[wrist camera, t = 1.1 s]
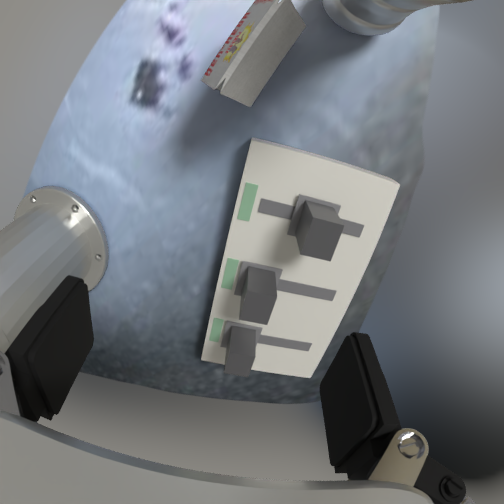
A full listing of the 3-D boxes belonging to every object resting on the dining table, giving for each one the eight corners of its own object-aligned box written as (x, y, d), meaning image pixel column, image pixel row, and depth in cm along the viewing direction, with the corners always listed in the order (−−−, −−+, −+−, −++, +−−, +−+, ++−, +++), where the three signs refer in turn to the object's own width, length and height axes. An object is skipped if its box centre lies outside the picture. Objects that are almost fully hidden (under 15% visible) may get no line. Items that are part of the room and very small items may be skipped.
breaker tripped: (326, 243, 27) (336, 266, 24) (286, 233, 27) (291, 256, 23) (340, 205, 26) (353, 223, 22) (299, 193, 25) (306, 211, 22)
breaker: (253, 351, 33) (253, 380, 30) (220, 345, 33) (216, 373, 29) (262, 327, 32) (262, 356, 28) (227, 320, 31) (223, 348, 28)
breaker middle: (271, 301, 30) (273, 329, 27) (234, 293, 30) (231, 320, 26) (282, 269, 29) (285, 295, 25) (242, 260, 28) (240, 285, 25)
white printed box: (295, 41, 22) (317, 11, 13) (251, 105, 24) (248, 109, 15) (256, 19, 21) (256, -23, 12) (213, 83, 23) (187, 76, 15)
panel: (308, 365, 38) (310, 378, 36) (203, 347, 36) (200, 360, 34) (391, 178, 27) (400, 185, 25) (252, 137, 25) (251, 140, 24)
